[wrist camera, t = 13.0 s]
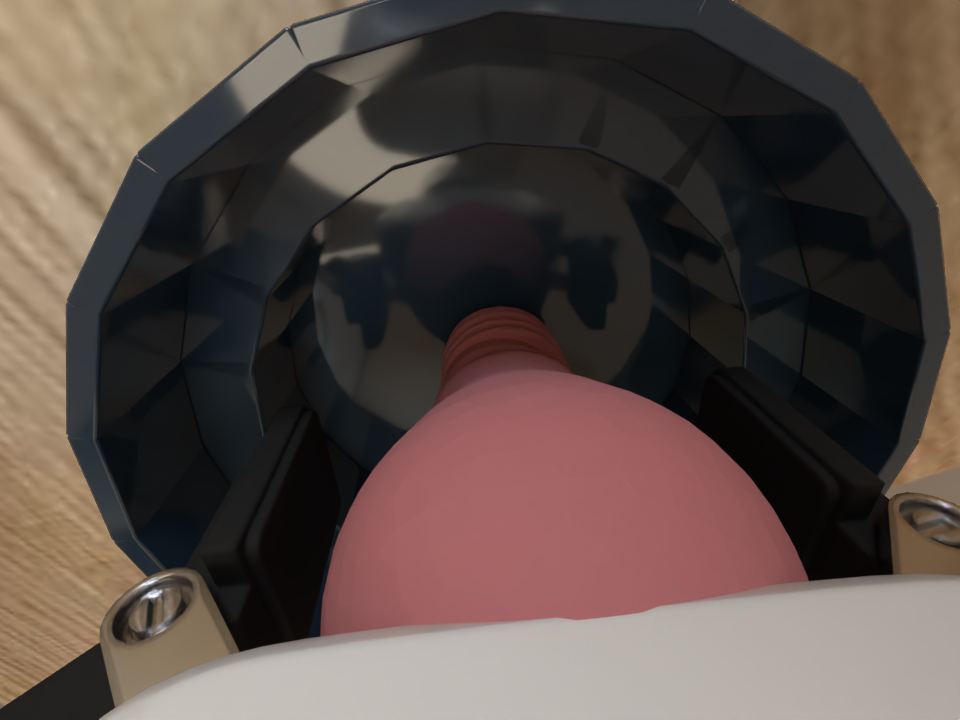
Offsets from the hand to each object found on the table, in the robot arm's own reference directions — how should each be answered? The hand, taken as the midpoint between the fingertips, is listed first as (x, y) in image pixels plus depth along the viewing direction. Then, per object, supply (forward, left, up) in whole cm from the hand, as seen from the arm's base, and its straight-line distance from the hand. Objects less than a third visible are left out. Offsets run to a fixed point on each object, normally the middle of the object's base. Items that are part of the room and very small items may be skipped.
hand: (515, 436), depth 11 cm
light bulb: (0, 0, -5) cm, 5 cm away
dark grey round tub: (0, 0, -5) cm, 5 cm away
